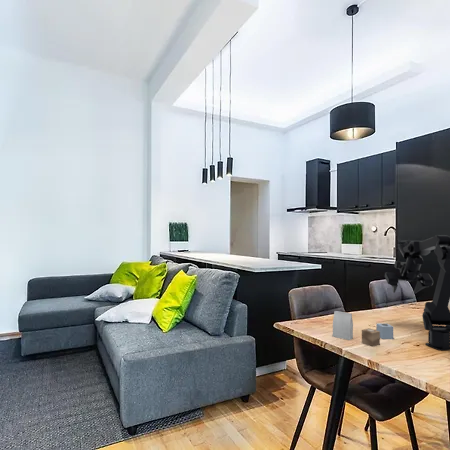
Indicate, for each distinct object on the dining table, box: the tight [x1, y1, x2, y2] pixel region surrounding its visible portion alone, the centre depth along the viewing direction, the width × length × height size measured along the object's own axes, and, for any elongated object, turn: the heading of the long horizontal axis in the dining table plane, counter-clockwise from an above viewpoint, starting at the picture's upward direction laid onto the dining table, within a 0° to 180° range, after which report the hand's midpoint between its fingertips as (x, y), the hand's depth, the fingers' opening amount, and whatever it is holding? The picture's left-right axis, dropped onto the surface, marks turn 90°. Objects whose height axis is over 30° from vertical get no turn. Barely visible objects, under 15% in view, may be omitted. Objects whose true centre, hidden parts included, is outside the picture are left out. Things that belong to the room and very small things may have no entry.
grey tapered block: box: [332, 310, 354, 341], centre depth 130 cm, size 4×7×10 cm, turn 51°
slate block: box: [375, 323, 394, 340], centre depth 131 cm, size 4×4×5 cm
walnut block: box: [361, 328, 381, 347], centre depth 123 cm, size 4×4×5 cm
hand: (404, 292), depth 151 cm, fingers open, 9 cm apart
